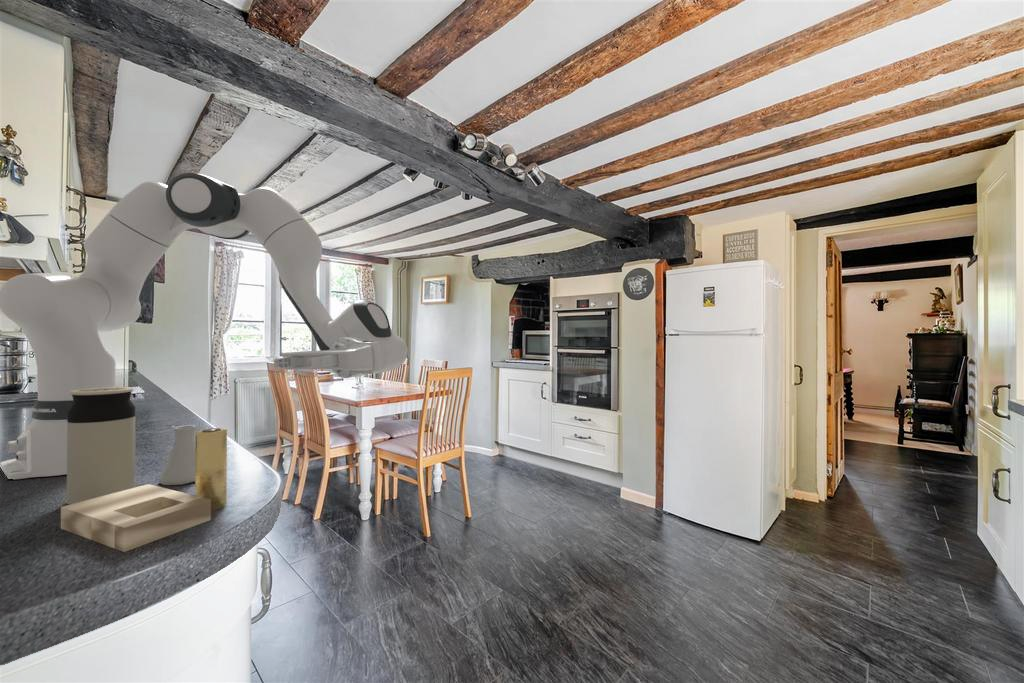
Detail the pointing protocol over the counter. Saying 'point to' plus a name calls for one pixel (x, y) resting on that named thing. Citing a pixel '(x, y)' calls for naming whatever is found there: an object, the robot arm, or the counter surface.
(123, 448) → the travel mug
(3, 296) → the robot arm
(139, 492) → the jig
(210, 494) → the gold metal post
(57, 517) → the counter surface
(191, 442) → the flask
